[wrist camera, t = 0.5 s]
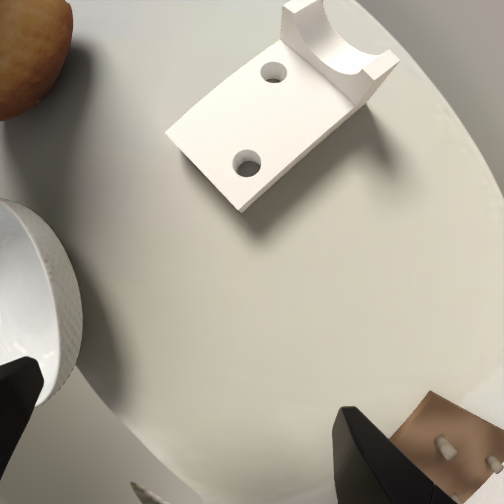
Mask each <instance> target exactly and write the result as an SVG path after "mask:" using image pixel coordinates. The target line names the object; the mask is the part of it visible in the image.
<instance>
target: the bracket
mask: <svg viewBox="0 0 504 504" xmlns="http://www.w3.org/2000/svg"><path fill="white" fill-rule="evenodd" d="M399 61H400V60H399V59H398V58H397V57H396V56H395V55H394V54H393V53H392V52H391V51H390V50H389V49H388V50H387V51H385V52H384V53H383V54H381V55H369V54H366V53H363V52H361V51H359V50H357V49H355V48H354V47H352V46H351V45H349V44H348V43H347V42H346V41H345V40H344V39H342V38H341V37H340V36H339V34H338V33H337V32H336V31H335V30H334V28H333V27H332V25H331V24H330V22H329V21H328V19H327V17H326V14H325V11H324V8H323V0H291V1H289V2H288V3H286V4H284V5H283V7H282V22H281V37H280V40H279V41H277V42H276V43H274V44H273V45H272V46H270V47H269V48H267V49H266V50H264V51H263V52H262V53H260V54H259V55H257V56H256V57H255V58H253V59H252V60H251V61H249V62H248V63H247V64H245V65H244V66H243V67H241V68H240V69H239V70H237V71H236V72H235V73H233V74H232V75H231V76H230V77H228V78H227V79H226V80H225V81H223V82H222V83H221V84H220V85H218V86H217V87H216V88H215V89H213V90H212V91H211V92H210V93H209V94H207V95H206V96H205V97H204V98H203V99H202V100H200V101H199V102H198V103H197V104H196V105H195V106H193V107H192V108H191V109H190V110H189V111H188V112H187V113H186V114H184V115H183V116H182V117H181V118H180V119H179V120H178V121H177V122H176V123H175V124H174V125H172V126H171V127H170V128H169V129H168V130H167V131H166V132H165V134H166V135H167V136H168V137H169V138H170V139H171V140H172V141H173V142H174V143H175V144H176V145H177V146H178V147H179V148H180V149H181V151H182V152H183V153H184V154H185V155H186V156H187V157H188V158H189V159H190V160H191V161H192V162H193V163H194V164H195V165H196V166H197V167H198V168H199V169H200V171H201V172H202V173H203V174H204V175H205V176H206V177H207V178H208V179H209V180H210V181H211V182H212V183H213V184H214V185H215V186H216V187H217V189H218V190H219V191H220V192H221V193H222V194H223V195H224V196H225V197H226V198H227V199H228V200H229V201H230V202H231V203H232V205H233V206H234V207H235V208H236V209H237V210H238V211H240V212H241V213H243V212H244V211H245V210H246V209H247V208H248V207H249V206H250V205H251V204H252V203H254V202H255V201H256V200H257V199H258V198H259V197H260V196H261V195H262V194H263V193H264V192H266V191H267V190H268V189H269V188H270V187H271V186H272V185H273V184H274V183H275V182H277V181H278V180H279V179H280V178H281V177H282V176H283V175H284V174H285V173H287V172H288V171H289V170H290V169H291V168H292V167H293V166H294V165H295V164H297V163H298V162H299V161H300V160H301V159H302V158H303V157H304V156H306V155H307V154H308V153H309V152H310V151H311V150H312V149H313V148H315V147H316V146H317V145H318V144H319V143H320V142H321V141H323V140H324V139H325V138H326V137H327V136H328V135H329V134H331V133H332V132H333V131H334V130H335V129H336V128H338V127H339V126H340V125H341V124H342V123H343V122H345V121H346V120H347V119H348V118H349V117H350V116H352V115H353V114H354V113H355V112H356V111H357V110H359V109H360V108H361V107H362V106H363V105H365V104H366V103H367V101H368V100H369V99H370V98H371V96H372V95H373V94H374V93H375V91H376V90H377V89H378V88H379V86H380V85H381V84H382V83H383V81H384V80H385V79H386V78H387V76H388V75H389V74H390V73H391V71H392V70H393V69H394V68H395V66H396V65H397V64H398V63H399ZM270 78H275V79H278V80H280V81H281V82H279V83H269V82H267V81H265V80H267V79H270ZM245 161H254V162H256V163H258V164H259V165H260V167H261V168H260V170H259V172H258V173H257V174H255V175H254V176H252V177H242V176H240V175H238V174H237V170H238V167H239V166H240V165H241V164H242V163H243V162H245Z"/></svg>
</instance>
